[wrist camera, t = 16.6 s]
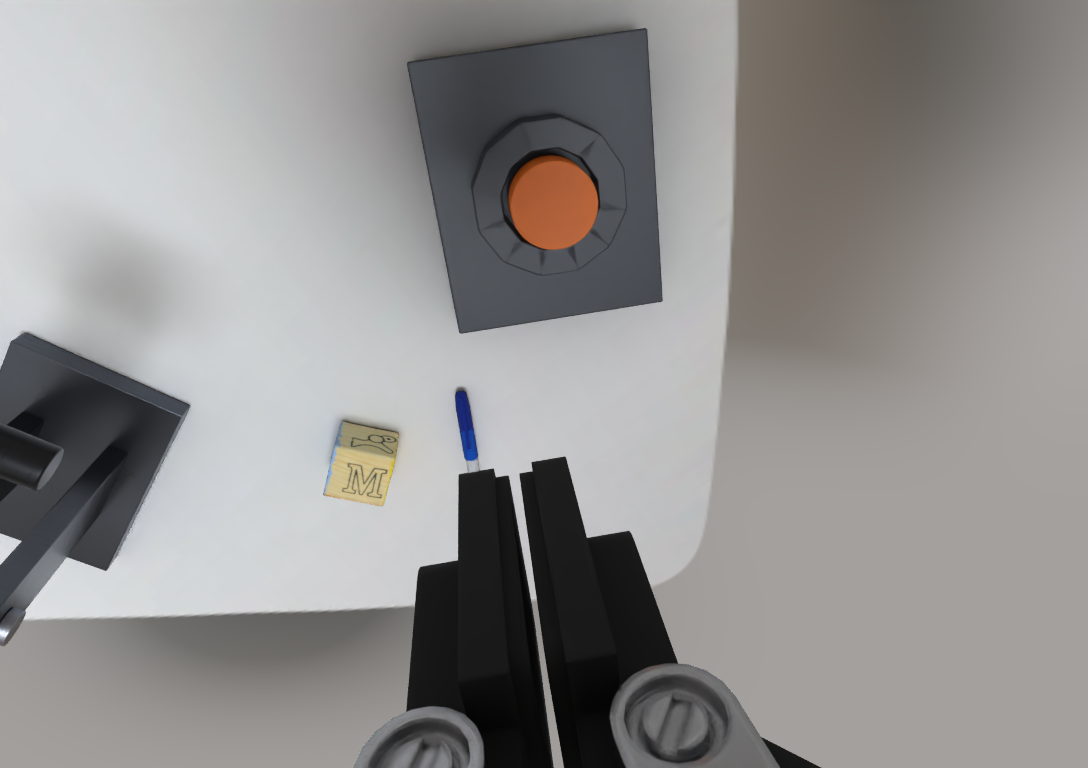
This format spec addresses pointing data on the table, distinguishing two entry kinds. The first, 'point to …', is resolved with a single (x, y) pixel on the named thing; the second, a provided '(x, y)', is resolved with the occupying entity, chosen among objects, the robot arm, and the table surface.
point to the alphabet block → (361, 464)
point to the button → (552, 202)
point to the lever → (27, 458)
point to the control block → (524, 134)
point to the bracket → (75, 464)
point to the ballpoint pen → (466, 431)
